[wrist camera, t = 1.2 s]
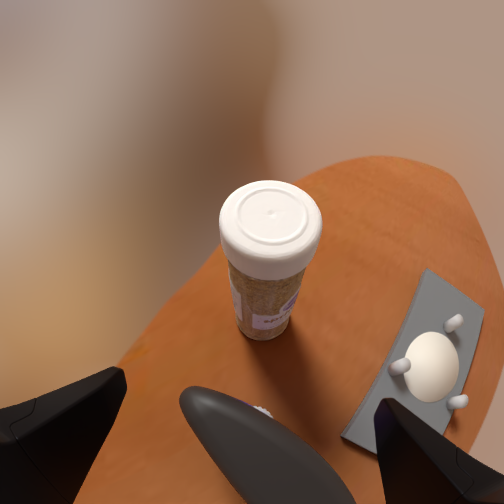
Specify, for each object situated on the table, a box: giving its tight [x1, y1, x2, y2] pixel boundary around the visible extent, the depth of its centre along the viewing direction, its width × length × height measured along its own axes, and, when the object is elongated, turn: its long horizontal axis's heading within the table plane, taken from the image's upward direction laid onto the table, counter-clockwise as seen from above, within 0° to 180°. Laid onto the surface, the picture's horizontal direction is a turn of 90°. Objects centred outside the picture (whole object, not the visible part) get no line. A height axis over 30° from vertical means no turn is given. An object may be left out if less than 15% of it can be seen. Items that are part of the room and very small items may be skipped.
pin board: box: [340, 268, 484, 455], centre depth 19 cm, size 18×9×3 cm, turn 143°
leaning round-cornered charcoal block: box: [179, 386, 356, 504], centre depth 13 cm, size 16×5×9 cm, turn 33°
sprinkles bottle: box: [219, 181, 322, 341], centre depth 18 cm, size 5×5×13 cm
